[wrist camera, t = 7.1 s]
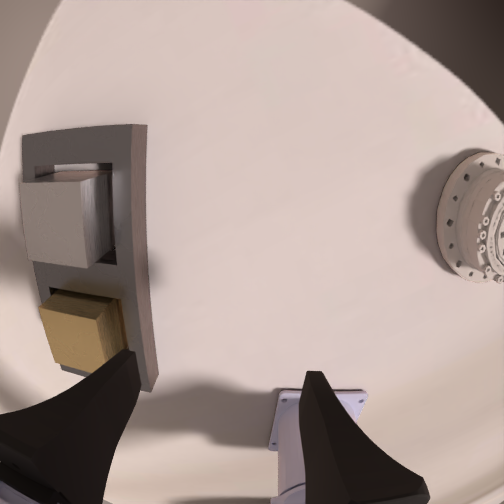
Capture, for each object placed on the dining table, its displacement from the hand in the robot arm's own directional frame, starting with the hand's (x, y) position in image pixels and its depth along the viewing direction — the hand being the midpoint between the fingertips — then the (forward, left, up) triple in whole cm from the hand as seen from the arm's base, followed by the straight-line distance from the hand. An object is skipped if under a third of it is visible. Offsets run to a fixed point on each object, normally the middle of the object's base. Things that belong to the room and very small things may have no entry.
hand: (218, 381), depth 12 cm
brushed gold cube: (-4, +11, -10) cm, 15 cm away
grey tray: (0, +11, -10) cm, 15 cm away
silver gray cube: (+4, +11, -10) cm, 16 cm away
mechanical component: (+6, -18, -10) cm, 22 cm away
